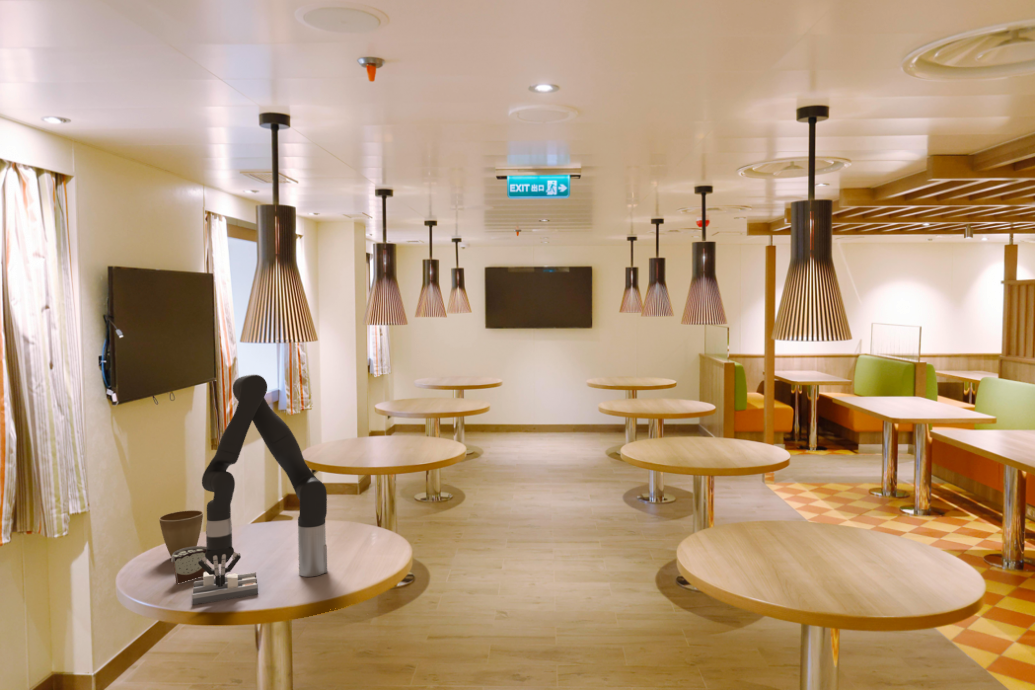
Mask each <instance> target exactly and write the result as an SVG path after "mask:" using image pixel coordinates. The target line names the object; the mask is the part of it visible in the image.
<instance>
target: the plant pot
mask: <svg viewBox="0 0 1035 690" xmlns="http://www.w3.org/2000/svg"><path fill="white" fill-rule="evenodd" d="M203 517H204V511H201V510H198V509H197V510H195V509H194V510H193V509H192V510H191V509H190V510H181V511H180V510H179V511H174V512H169V513H166V514H164V515H162V516H161V515H160V517H159V518H158V519H159V525H160V529H161V534H162V536H163V540H164V541H163V542H164V543H165V546H166V549H167V551H168V553H169V556H170V557H171V558H172V555H173V553H174V552H175V551H177V550H180V549H183V548H188V547H194V546H197V545H198V543H199V540H200V539H199V538H200V535H201V530H202V525H203ZM171 558H170V559H171Z"/></svg>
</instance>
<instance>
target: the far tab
mask: <svg viewBox="0 0 1035 690" xmlns="http://www.w3.org/2000/svg"><path fill="white" fill-rule="evenodd" d="M202 579H203V584H204V586H208V585H214V579H215V575H209V574H208V573H207V572H204V575H203V577H202Z"/></svg>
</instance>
